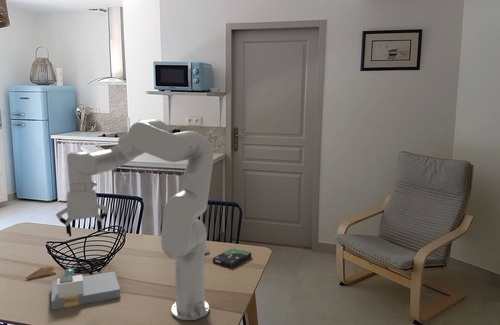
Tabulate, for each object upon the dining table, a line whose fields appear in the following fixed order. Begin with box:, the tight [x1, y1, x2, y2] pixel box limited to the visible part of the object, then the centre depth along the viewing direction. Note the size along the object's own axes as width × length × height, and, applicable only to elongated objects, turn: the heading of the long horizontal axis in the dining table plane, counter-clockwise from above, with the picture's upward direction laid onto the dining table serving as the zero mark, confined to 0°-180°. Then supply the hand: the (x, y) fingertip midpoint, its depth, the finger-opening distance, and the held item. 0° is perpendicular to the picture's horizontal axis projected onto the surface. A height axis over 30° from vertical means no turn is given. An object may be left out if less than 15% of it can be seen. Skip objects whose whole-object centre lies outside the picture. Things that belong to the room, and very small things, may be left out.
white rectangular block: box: [56, 274, 84, 298], centre depth 142 cm, size 5×8×5 cm, turn 115°
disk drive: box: [212, 247, 252, 269], centre depth 180 cm, size 10×3×15 cm
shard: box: [25, 265, 57, 280], centre depth 164 cm, size 11×8×2 cm
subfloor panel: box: [50, 271, 121, 311], centre depth 148 cm, size 16×22×3 cm
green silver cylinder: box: [63, 267, 75, 277], centre depth 149 cm, size 3×3×8 cm
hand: (84, 233), depth 147 cm, fingers open, 9 cm apart
